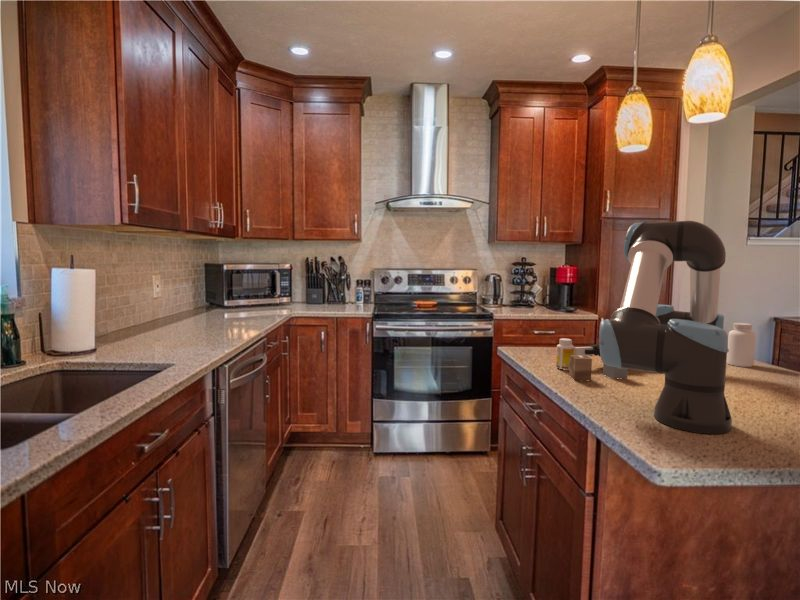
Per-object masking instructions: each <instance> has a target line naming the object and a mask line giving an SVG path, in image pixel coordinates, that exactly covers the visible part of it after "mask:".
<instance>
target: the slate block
mask: <svg viewBox="0 0 800 600" xmlns="http://www.w3.org/2000/svg"><path fill="white" fill-rule="evenodd" d="M602 370H603V371H602V376H603V375H606V376H608V377H610V378H612V379H611V380H613V379H617V378H627V379H628V370H629V369H624V368H621V369H619V368H618V367H612V366H607V365H605V364H604V363H603V369H602ZM608 377H607V378H608ZM610 378H609V379H610Z"/></svg>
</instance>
